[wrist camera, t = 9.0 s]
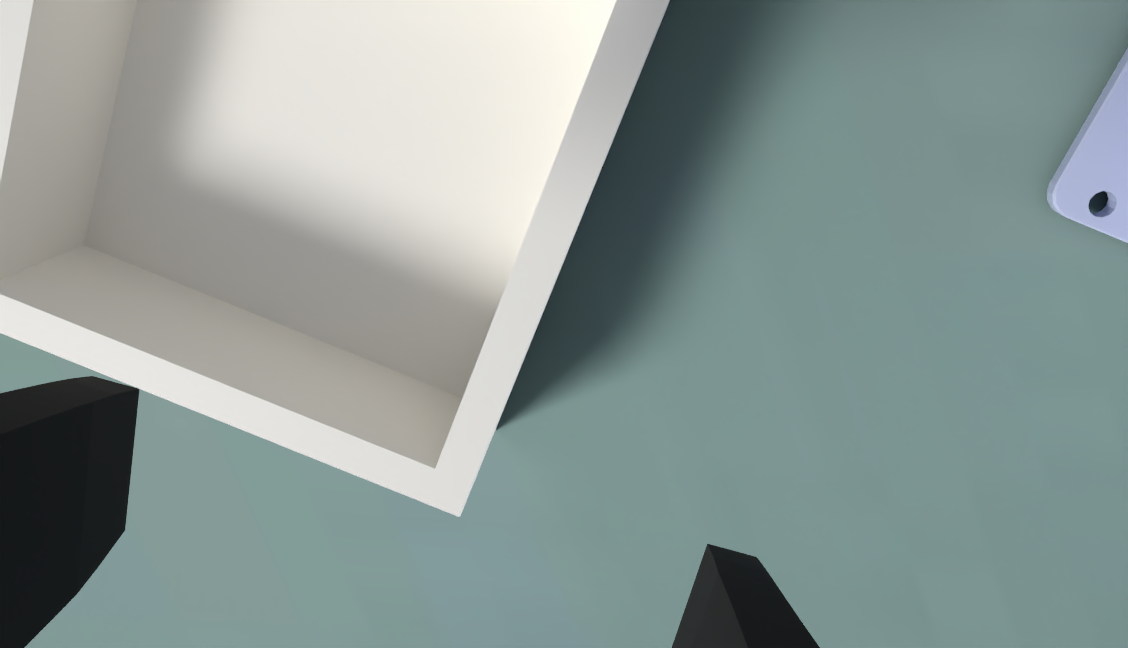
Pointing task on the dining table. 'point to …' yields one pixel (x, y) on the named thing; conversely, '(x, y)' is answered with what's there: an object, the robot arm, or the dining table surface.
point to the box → (308, 206)
